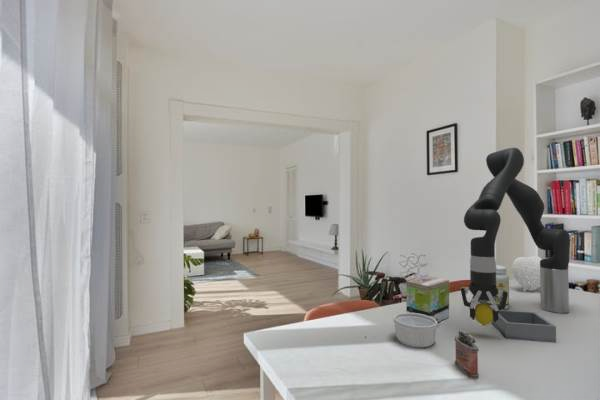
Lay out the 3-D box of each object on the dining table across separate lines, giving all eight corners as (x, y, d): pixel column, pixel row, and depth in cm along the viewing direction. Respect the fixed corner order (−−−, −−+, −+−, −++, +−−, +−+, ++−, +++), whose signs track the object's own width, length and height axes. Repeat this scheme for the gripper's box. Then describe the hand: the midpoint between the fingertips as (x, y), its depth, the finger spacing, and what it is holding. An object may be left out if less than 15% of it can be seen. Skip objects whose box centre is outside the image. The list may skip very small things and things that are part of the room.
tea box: (431, 327, 116) (430, 285, 116) (405, 320, 124) (405, 280, 124) (450, 317, 126) (449, 279, 126) (425, 311, 134) (425, 275, 134)
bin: (491, 323, 120) (491, 309, 120) (535, 326, 117) (535, 312, 117) (506, 338, 106) (506, 323, 106) (556, 342, 103) (555, 326, 103)
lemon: (492, 324, 110) (491, 300, 110) (495, 330, 105) (494, 305, 105) (473, 322, 112) (473, 298, 112) (475, 328, 107) (475, 303, 107)
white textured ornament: (526, 295, 156) (525, 259, 156) (506, 289, 166) (505, 255, 166) (553, 291, 161) (552, 257, 161) (532, 286, 171) (531, 253, 172)
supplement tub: (477, 308, 136) (477, 268, 137) (474, 300, 148) (474, 263, 148) (512, 312, 132) (511, 270, 132) (506, 303, 143) (505, 264, 143)
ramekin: (436, 335, 109) (435, 314, 109) (439, 352, 97) (438, 329, 97) (394, 330, 114) (394, 310, 114) (392, 346, 101) (392, 323, 101)
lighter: (451, 363, 90) (451, 327, 90) (463, 362, 90) (463, 326, 90) (469, 379, 82) (468, 339, 82) (482, 378, 82) (481, 338, 82)
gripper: (506, 268, 109) (507, 319, 109) (458, 265, 115) (459, 314, 115) (510, 273, 102) (511, 327, 102) (459, 269, 108) (460, 321, 108)
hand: (483, 320), depth 108 cm, fingers closed on lemon, 5 cm apart
